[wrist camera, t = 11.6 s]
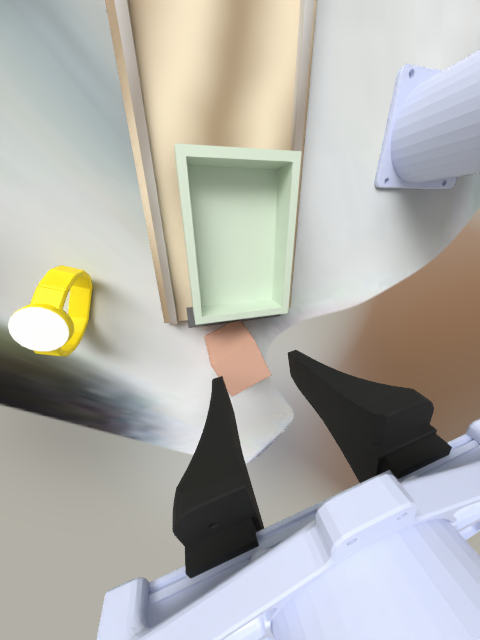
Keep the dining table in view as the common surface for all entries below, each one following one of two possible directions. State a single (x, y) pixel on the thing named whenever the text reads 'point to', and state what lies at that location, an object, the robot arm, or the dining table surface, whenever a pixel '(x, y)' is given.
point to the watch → (54, 313)
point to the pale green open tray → (238, 228)
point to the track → (206, 102)
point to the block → (236, 357)
